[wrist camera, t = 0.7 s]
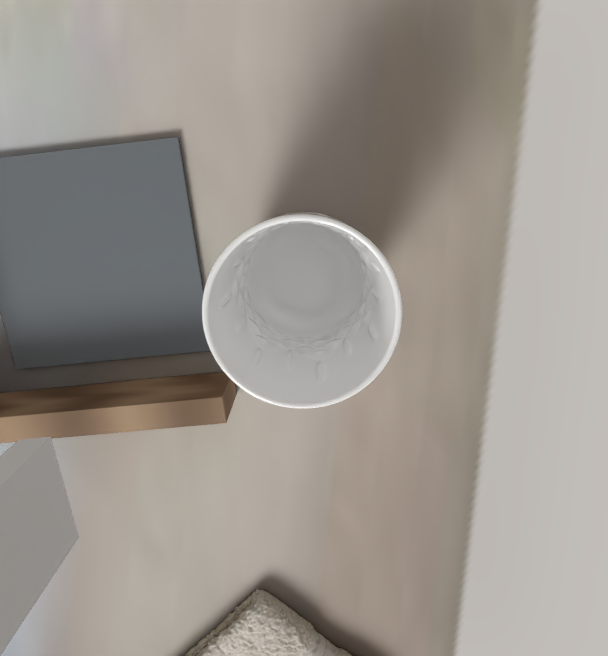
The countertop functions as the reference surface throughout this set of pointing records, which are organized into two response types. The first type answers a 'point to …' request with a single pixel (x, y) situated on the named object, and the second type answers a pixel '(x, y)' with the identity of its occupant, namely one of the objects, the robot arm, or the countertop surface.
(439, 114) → the countertop surface
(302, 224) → the white cup
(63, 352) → the mat
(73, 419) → the corner walls
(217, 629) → the washcloth
